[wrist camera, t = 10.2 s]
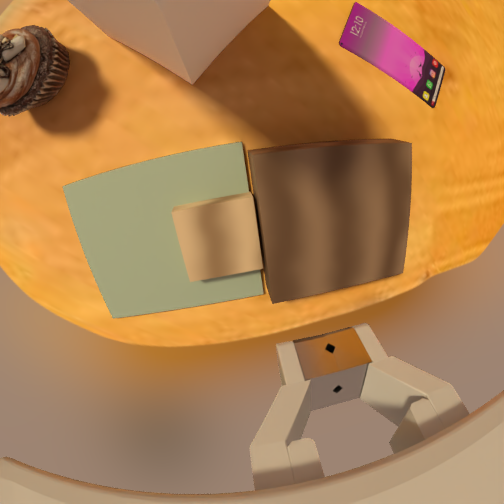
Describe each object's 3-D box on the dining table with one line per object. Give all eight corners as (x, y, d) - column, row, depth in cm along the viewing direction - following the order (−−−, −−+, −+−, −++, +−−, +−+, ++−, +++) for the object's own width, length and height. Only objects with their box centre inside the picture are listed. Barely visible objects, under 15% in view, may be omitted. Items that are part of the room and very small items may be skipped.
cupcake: (5, 112, 20) (-50, 120, 11) (27, 36, 16) (-23, 23, 7) (62, 117, 22) (7, 123, 13) (88, 34, 19) (43, 9, 10)
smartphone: (429, 108, 28) (434, 109, 27) (336, 45, 23) (340, 43, 22) (441, 67, 25) (445, 67, 24) (353, 2, 21) (356, -1, 20)
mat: (241, 141, 27) (241, 142, 26) (262, 291, 35) (263, 294, 35) (64, 185, 26) (62, 186, 25) (114, 316, 34) (113, 318, 33)
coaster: (250, 191, 29) (253, 196, 27) (260, 259, 32) (263, 268, 31) (173, 206, 28) (171, 212, 27) (191, 272, 32) (190, 282, 30)
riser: (391, 138, 28) (411, 143, 25) (387, 258, 36) (402, 272, 32) (247, 150, 27) (253, 155, 24) (266, 284, 35) (272, 303, 31)
